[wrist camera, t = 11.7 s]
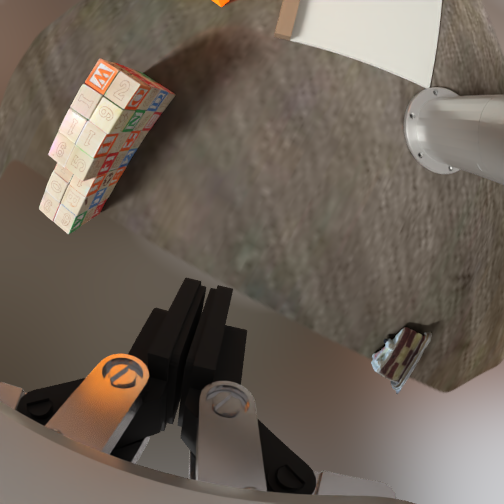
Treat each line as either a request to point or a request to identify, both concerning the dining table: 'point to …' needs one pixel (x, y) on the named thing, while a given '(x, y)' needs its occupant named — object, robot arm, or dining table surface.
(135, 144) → the stack of blocks
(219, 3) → the orange juice
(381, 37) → the mat
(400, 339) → the chocolate cake
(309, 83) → the dining table surface
